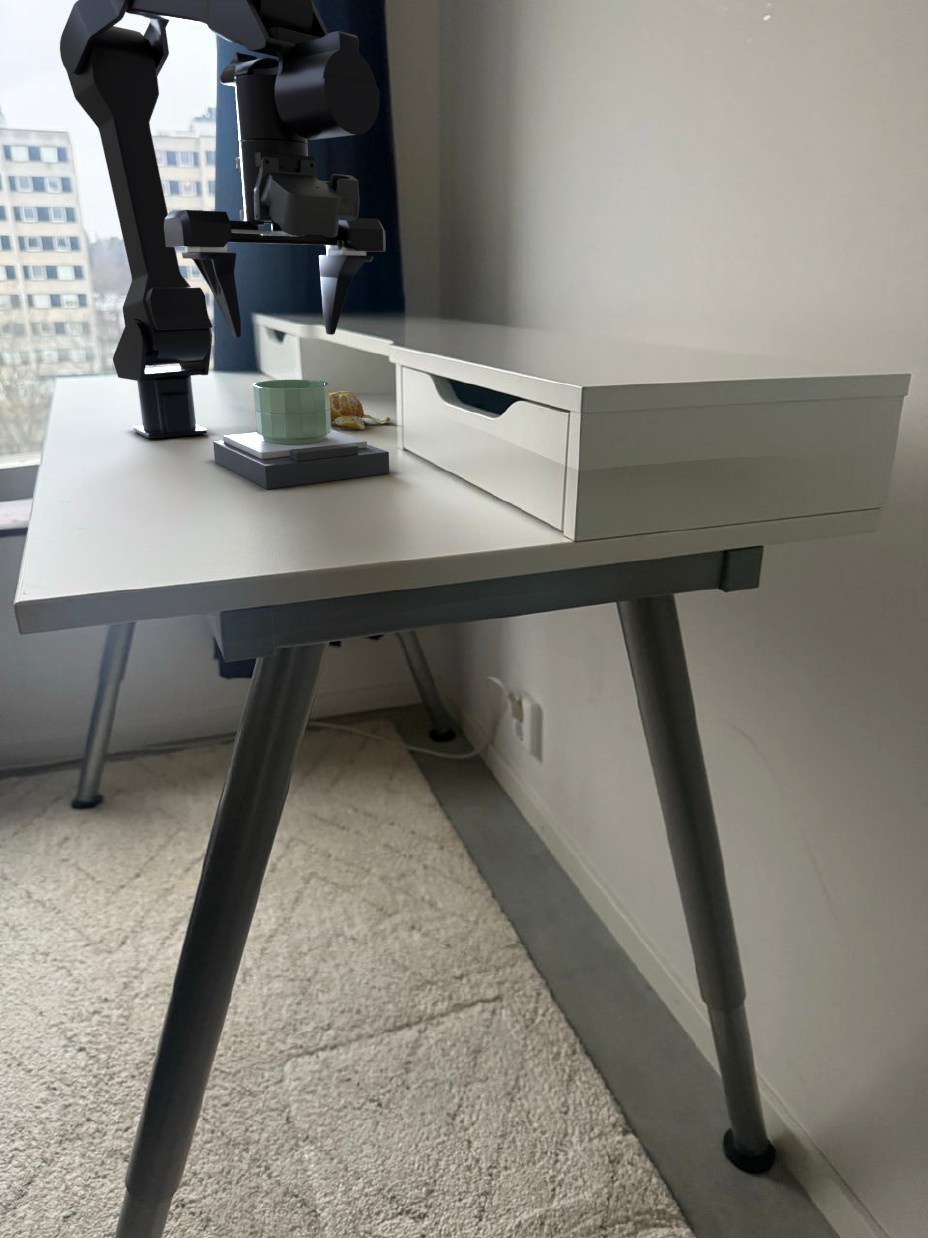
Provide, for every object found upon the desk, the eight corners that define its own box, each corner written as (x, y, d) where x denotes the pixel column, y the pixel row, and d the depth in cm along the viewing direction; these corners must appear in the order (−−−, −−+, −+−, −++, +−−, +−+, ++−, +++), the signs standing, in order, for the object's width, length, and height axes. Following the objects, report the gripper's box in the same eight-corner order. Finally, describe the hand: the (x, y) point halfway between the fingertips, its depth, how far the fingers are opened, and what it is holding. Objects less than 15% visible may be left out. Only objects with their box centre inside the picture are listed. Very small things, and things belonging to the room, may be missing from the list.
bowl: (246, 436, 82) (242, 381, 80) (312, 429, 85) (309, 377, 83) (274, 448, 77) (270, 390, 75) (343, 440, 80) (341, 385, 78)
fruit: (350, 431, 99) (349, 399, 98) (298, 424, 103) (296, 392, 102) (395, 422, 105) (395, 391, 104) (344, 415, 110) (343, 386, 108)
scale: (214, 462, 83) (211, 432, 82) (327, 449, 89) (326, 422, 88) (266, 489, 73) (264, 456, 72) (389, 473, 79) (389, 442, 78)
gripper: (195, 121, 62) (215, 346, 68) (416, 144, 72) (416, 339, 78) (152, 137, 71) (173, 336, 77) (354, 155, 81) (359, 330, 87)
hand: (285, 335), depth 79 cm, fingers open, 9 cm apart
